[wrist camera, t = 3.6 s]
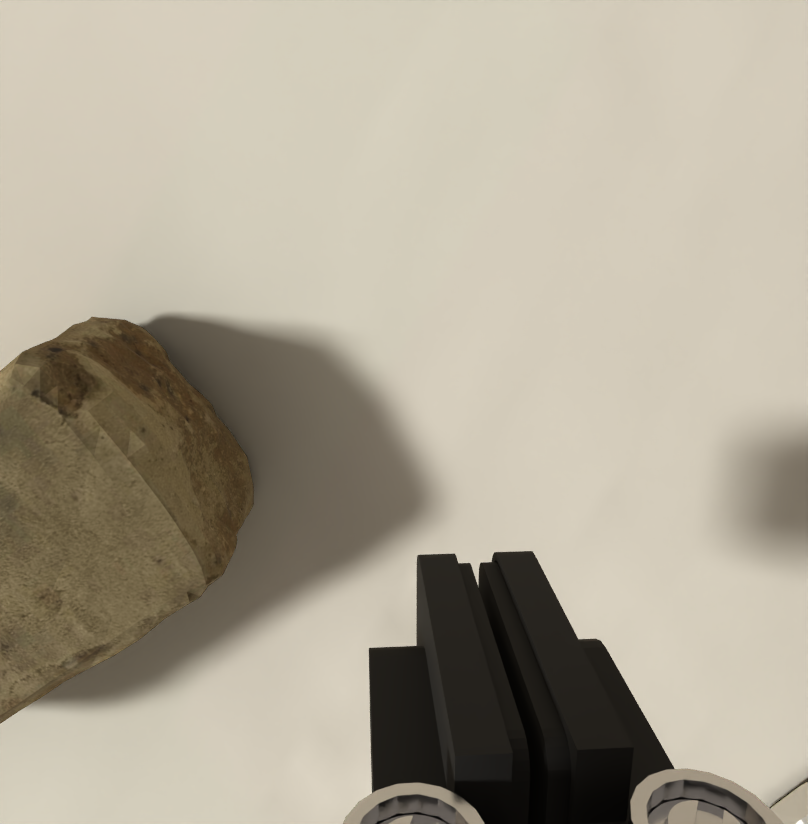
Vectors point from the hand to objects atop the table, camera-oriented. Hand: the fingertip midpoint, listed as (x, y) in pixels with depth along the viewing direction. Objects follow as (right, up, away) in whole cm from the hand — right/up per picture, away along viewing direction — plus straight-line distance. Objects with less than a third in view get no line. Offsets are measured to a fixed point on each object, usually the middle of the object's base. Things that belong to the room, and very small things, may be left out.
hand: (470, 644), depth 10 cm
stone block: (-10, +1, +8) cm, 13 cm away
